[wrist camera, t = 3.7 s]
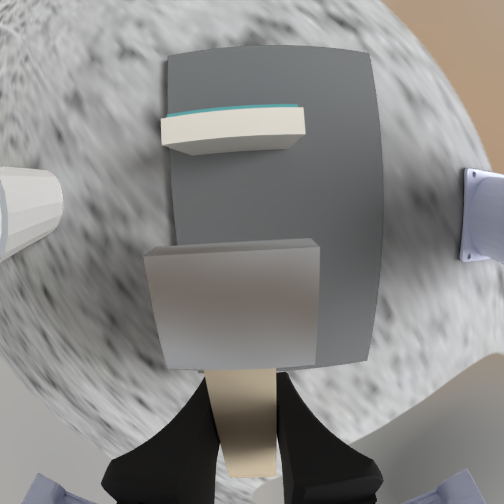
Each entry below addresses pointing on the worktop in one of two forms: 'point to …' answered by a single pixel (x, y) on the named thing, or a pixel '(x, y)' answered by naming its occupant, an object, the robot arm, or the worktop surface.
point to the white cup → (27, 207)
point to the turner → (238, 331)
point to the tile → (234, 129)
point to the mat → (292, 174)
